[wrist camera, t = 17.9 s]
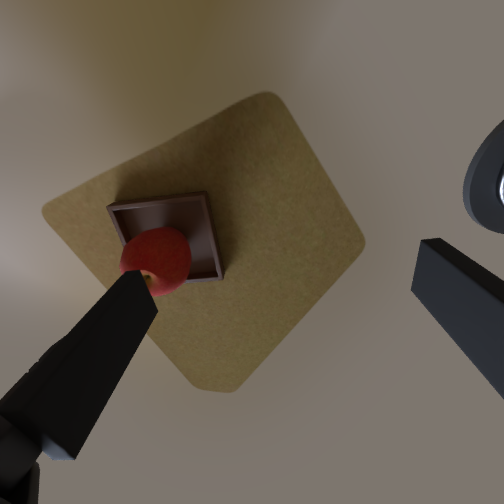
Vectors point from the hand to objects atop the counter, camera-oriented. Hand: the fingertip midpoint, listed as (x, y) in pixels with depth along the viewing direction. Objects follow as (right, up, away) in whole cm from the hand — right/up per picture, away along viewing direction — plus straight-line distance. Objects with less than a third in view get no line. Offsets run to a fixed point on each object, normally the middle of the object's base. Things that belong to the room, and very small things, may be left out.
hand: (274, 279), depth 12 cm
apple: (-16, +3, +33) cm, 37 cm away
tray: (-16, +4, +33) cm, 37 cm away
